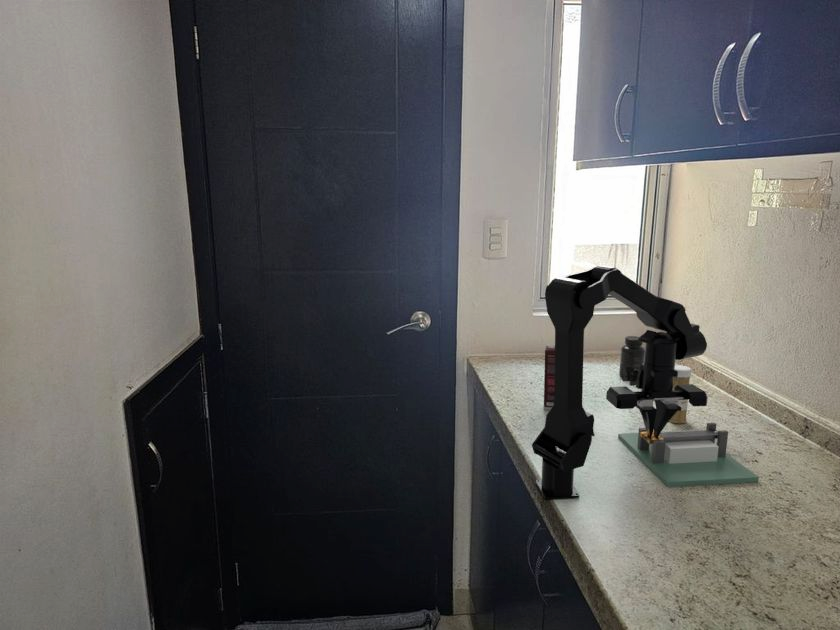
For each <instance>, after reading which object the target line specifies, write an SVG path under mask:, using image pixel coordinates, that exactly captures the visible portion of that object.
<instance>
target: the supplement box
mask: <svg viewBox="0 0 840 630" xmlns="http://www.w3.org/2000/svg"><path fill="white" fill-rule="evenodd" d="M543 383H544V385H543V387H544V388H543V410H544V411H550V409H551V408H552V406H553V405H554V385H555V345H554V346H553V345H546V346H545V349H544V380H543Z"/></svg>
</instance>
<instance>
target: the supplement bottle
mask: <svg viewBox="0 0 840 630" xmlns="http://www.w3.org/2000/svg"><path fill="white" fill-rule="evenodd" d="M639 337H640V336H638V335H637V336H636V335H635V336H634V335H628V336H626V337H624V344H625V345H622V346H621V349H620V359H619V371H618V373H619V376H620V377H621V372H622V367H624V366H633V367H634V370H640V365H641V364H644V357H645V347H644V346H643V344H644V342H640V341H639V340H638V339H639Z"/></svg>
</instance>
